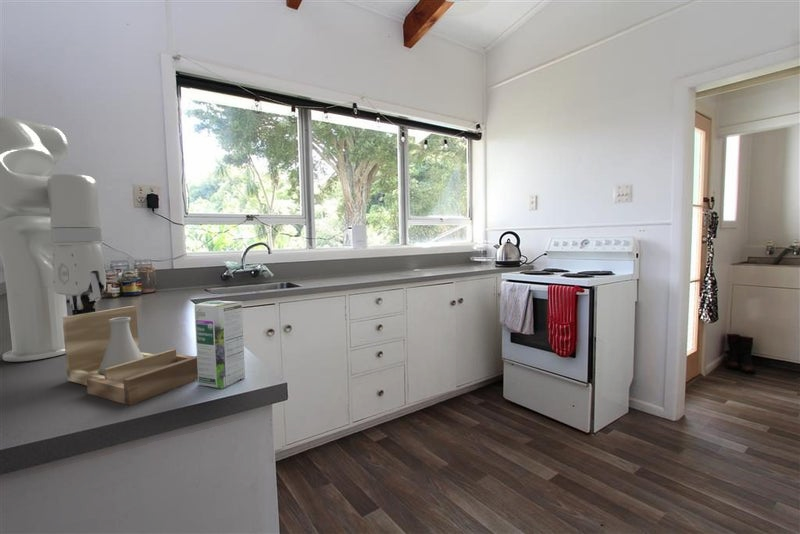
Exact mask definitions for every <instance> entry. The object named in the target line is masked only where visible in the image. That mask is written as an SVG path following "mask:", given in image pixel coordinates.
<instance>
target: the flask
mask: <svg viewBox="0 0 800 534" xmlns="http://www.w3.org/2000/svg"><path fill="white" fill-rule="evenodd" d="M130 320H131V318H130V317H118V318H113V319H110V320H108V322H109V323H110V324H111V334H110V340H109V343H108V346H107V349H106V352H105V355H104V357H103V360H102V362H101V365H100V367H99V370H98V373H99V374H102V375H104V369H105V368H109V367H112V366H116V365H119V364H123V363H126V362H130V361H133V360H137V359H140V358H144V357H143V355H142V354H141V352H142V351H140V348H139V349H138V347H137V345H136V343H135V341H134V339H133V337H132V334H131V331H130V328H129V321H130Z"/></svg>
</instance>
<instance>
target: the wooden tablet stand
mask: <svg viewBox="0 0 800 534" xmlns="http://www.w3.org/2000/svg"><path fill="white" fill-rule="evenodd" d="M137 315H138V314H137V306H136V305H130V306H124V307H123V306H122V307H118V308H111V309H106V310H100V311H95V312H92V313H85V314H79V315H67V317H62V320H63V332H64V343H65V354H64V355H65V364H66V373H67V374H66V375H67V381H69V382H73V383H76V384H81V385H83V386H87V379H88V378H92V377H99V378H103V379H107V380H111V381H115V382H119V383H123V384H124V381H123V379H126V378H129V377H132V376H135V375H139V374H142V373H145V372H148V371H151V370H154V369H157V368H160V367H163V366H166V365H170V364H173V363H176V362H177V360H176V353H177V350H176V349H173V348H172V349H169V350H166V351H163V352H159V353H154V354H153V353H148V352H142V351H140V352H141V354H142V355H143V357H144V358H140V359H137V360H133V361H130V362H126V363H123V364H119V365H116V366H112V367H109V368H105V369H104V375H102V374H99V373H98V370H99V367H100V365H101V362H102V360H103V357H104V355H105V352H106V349H107V346H108V343H109V340H110V334H111V324H110V323H109V322H108V320H110V319H113V318H118V317H130V318H131V320H130V321H129V328H130V331H131V334H132V337H133V339H134V341H135V343H136V345H137V347H138V349H139V350H140V344H139V331H138V330H139V329H138V328H139V327H138V316H137Z"/></svg>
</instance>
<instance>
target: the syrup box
mask: <svg viewBox="0 0 800 534" xmlns="http://www.w3.org/2000/svg"><path fill="white" fill-rule="evenodd" d="M243 319H244V318H243V301H231V300H230V301H229V300H208V301H204V302H199V303H196V304H194V324H195V325H194V326H195V342H196V344H195V345H196V356H197V368H198V379H197V384H198V386H201V387H202V386H206V387H210V388H216V389H220V390H222V389H225V388H227V387H229V386H230V385H233V384H235V383H237V382H239V381H241V380H242V379H245V378H246V369H245V368H246V367H245V364H246V363H245V342H244V320H243ZM240 379H241V380H240ZM238 380H239V381H238Z"/></svg>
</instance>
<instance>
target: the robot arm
mask: <svg viewBox="0 0 800 534" xmlns="http://www.w3.org/2000/svg"><path fill="white" fill-rule="evenodd" d="M68 153H69V142H68V139H67V137H66V136H65V134H64V133H63V131H61V130H60V129H59V128H56V127H55V126H52V125H49V124H44V123H43V124H42V123H39V122H34V121H29V120H23V119H20V118H15V117H9V116H0V260H1V262H2V266H3V267H2V268H3V272H4V273H3V274H4V280H5V282H4V283H5V289H6V297H7V299H6V300H7V308H8V317H9V327H10V338H11V348H12V349H11V350H8V351H6V352H4V353H3V354H2V360H3V361H4V362H9V363H10V362H14V363H15V362H16V363H17V362H28V361H29V362H30V361H38V360H43V359H48V358H49V359H50V358H54V357H58V356H61V355H66V354H65V343H64V332H63V320H62V317H67V316H68V309H67V299H68V301H69V305H70V310H71V314H72V315H71V316H73V315H79V314H85V313H92V312H96V307H97V301H100V300H101V299H102V295H101V293H104V291H106V289H107V277H106V275H107V274H106V267H105V261H104V255H103V252H102V251H103V250H102V247H101V245H103V236H102V224H101V223H102V221H101V213H100V209H101V208H100V200H99V199H100V198H99V186H98V183H97V181H96V180H95V178H93V177H91V176H89V175H85V174H76V173H54V174H51V175H49V176H46V175H48V173H50V172H51V170H52V169H53V168H54V166H56V165H58V164H60V163H62V162H63V161H64V160H65V159H66V157H67V156H68ZM49 259H52V262H51V261H49Z"/></svg>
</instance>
